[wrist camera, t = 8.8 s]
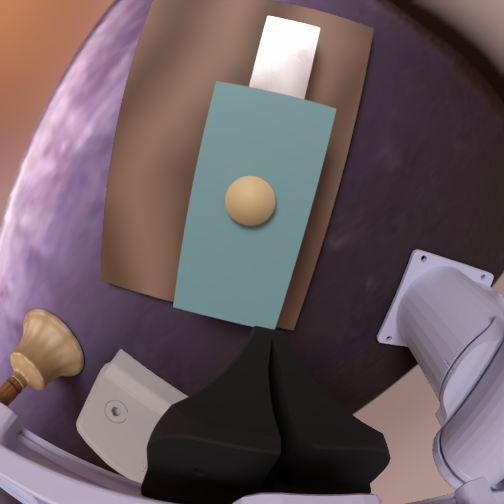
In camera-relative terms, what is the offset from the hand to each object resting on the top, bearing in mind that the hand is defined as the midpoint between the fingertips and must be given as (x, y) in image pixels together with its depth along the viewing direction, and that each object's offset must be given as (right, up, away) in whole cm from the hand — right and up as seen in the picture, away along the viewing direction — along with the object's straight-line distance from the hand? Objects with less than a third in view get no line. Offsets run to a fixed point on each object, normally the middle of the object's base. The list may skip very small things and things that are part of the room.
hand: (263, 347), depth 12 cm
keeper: (-1, +7, +7) cm, 10 cm away
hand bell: (-21, -5, +13) cm, 26 cm away
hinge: (-9, -12, +15) cm, 21 cm away
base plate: (-2, +10, +7) cm, 13 cm away
